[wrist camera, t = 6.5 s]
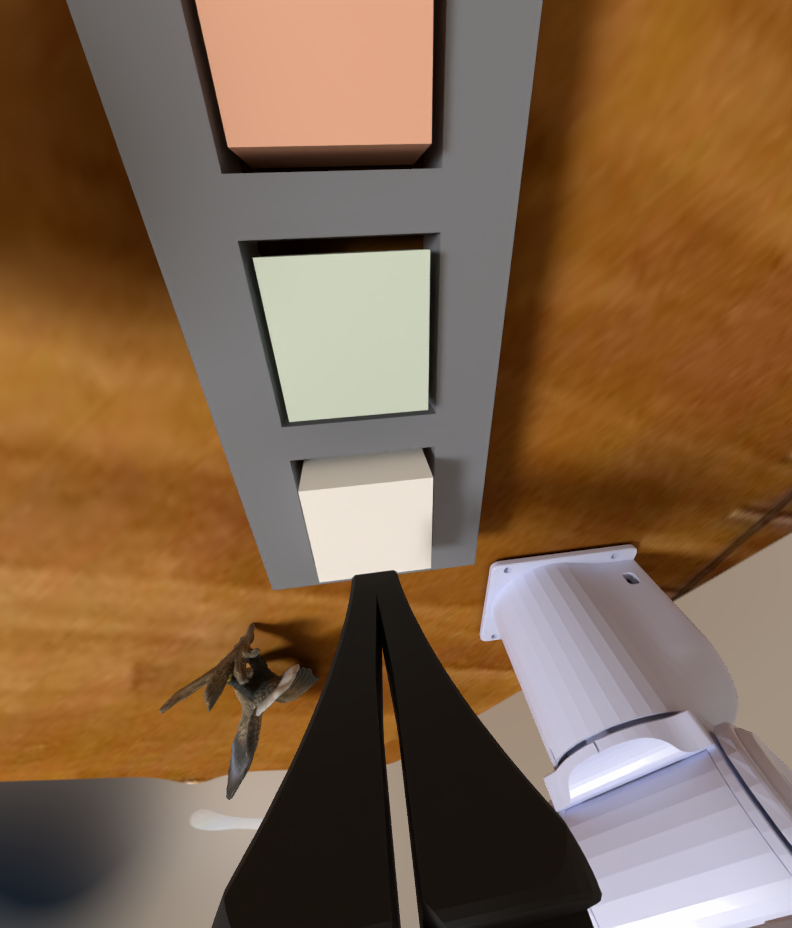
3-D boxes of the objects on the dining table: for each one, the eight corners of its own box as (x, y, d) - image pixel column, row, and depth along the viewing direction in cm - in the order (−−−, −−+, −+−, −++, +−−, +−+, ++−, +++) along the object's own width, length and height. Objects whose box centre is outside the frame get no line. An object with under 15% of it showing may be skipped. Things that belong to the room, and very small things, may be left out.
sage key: (414, 249, 12) (430, 249, 10) (415, 385, 14) (428, 409, 12) (269, 255, 11) (252, 258, 9) (297, 394, 14) (289, 422, 12)
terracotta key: (411, -105, 8) (436, -235, 6) (413, 164, 11) (431, 143, 8) (196, -116, 8) (137, -260, 5) (252, 168, 10) (227, 147, 8)
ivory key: (419, 443, 15) (433, 477, 13) (419, 527, 17) (431, 568, 15) (304, 454, 14) (298, 491, 12) (322, 539, 17) (319, 582, 15)
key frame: (524, -234, 8) (593, -417, 6) (460, 530, 20) (474, 564, 18) (29, -273, 7) (-114, -511, 5) (280, 551, 19) (272, 590, 17)
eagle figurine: (151, 660, 21) (213, 750, 24) (163, 761, 15) (240, 859, 18) (273, 586, 24) (311, 673, 28) (318, 646, 19) (358, 744, 22)
